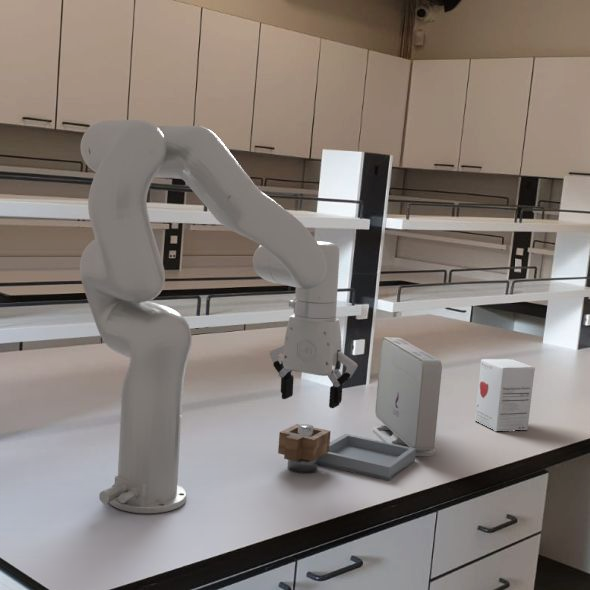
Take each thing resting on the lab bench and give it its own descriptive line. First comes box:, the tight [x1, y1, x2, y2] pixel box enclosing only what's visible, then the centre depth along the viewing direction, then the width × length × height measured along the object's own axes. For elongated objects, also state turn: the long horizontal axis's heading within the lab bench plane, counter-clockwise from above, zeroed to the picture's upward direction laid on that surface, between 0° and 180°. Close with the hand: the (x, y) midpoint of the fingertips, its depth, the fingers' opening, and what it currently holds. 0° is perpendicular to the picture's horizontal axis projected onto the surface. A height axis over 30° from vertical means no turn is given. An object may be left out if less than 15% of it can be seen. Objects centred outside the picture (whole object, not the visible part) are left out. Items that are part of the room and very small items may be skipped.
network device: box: [372, 336, 443, 457], centre depth 181 cm, size 26×9×20 cm, turn 13°
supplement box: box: [474, 358, 536, 432], centre depth 199 cm, size 9×9×15 cm
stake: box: [287, 423, 319, 474], centre depth 160 cm, size 6×6×8 cm
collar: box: [277, 423, 331, 461], centre depth 159 cm, size 9×7×4 cm
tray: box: [318, 433, 417, 481], centre depth 166 cm, size 14×15×2 cm
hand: (310, 402), depth 159 cm, fingers open, 9 cm apart
